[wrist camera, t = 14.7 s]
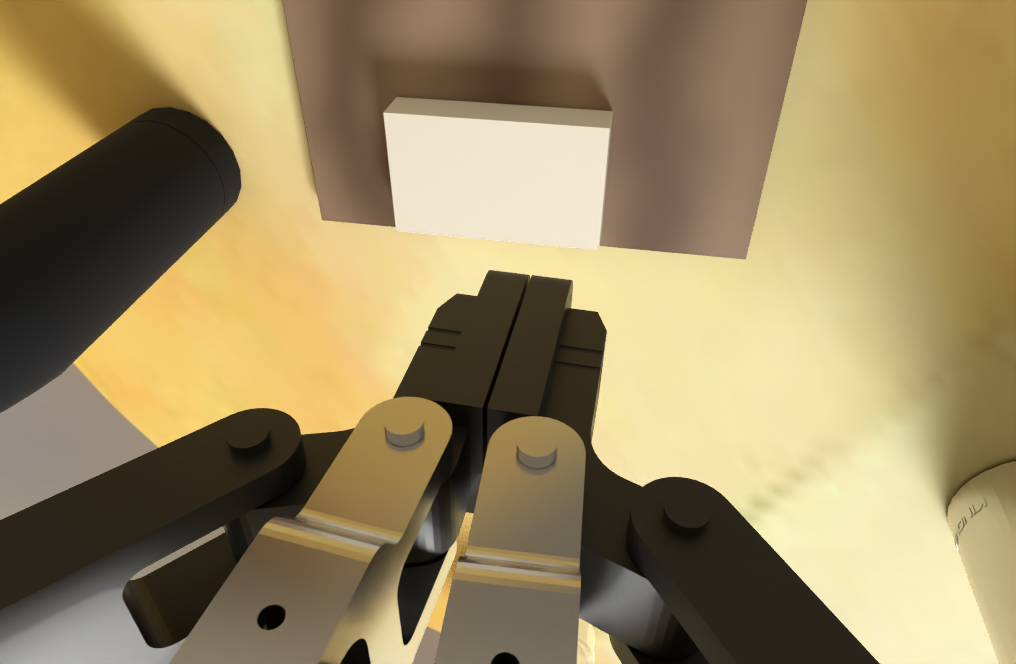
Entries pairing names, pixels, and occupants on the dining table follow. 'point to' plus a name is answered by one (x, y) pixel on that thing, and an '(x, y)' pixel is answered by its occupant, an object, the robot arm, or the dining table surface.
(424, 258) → the dining table surface
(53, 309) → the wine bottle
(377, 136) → the board
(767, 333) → the dining table surface
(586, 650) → the white cup
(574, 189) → the tile teal
